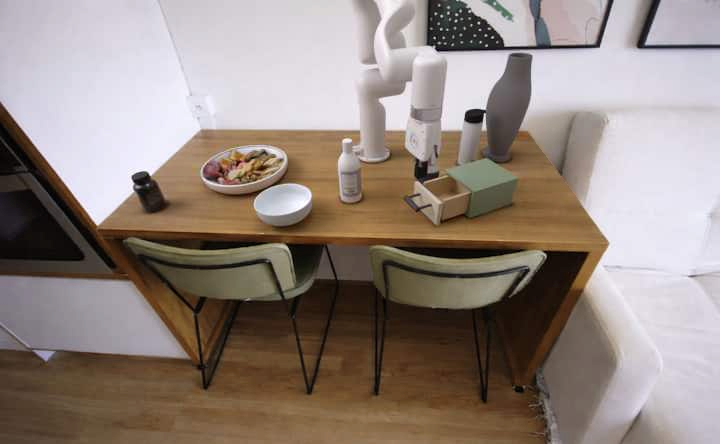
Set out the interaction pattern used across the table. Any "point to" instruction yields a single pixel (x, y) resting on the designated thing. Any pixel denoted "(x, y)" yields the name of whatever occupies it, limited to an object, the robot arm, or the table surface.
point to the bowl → (244, 169)
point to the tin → (431, 173)
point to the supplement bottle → (148, 192)
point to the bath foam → (349, 174)
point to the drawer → (440, 198)
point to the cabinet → (485, 185)
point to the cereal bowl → (283, 204)
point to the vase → (508, 106)
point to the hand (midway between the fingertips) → (420, 176)
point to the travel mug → (470, 136)
